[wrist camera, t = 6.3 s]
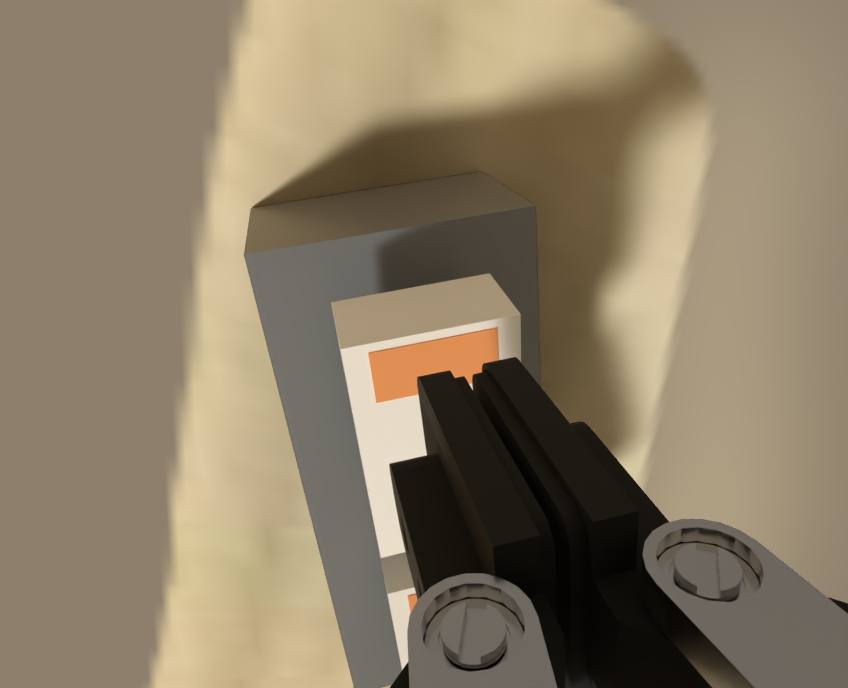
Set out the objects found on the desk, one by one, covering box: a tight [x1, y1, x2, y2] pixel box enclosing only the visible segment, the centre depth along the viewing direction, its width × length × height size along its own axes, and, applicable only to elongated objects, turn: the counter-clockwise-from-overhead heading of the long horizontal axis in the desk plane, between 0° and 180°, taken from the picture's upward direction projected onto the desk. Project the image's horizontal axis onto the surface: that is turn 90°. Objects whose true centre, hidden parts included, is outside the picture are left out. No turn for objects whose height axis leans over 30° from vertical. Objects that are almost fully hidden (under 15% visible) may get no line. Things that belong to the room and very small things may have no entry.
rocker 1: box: [379, 552, 418, 670], centre depth 18 cm, size 6×4×2 cm, turn 6°
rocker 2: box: [331, 273, 521, 558], centre depth 14 cm, size 6×4×2 cm, turn 6°
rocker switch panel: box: [244, 171, 541, 688], centre depth 21 cm, size 21×7×5 cm, turn 6°
